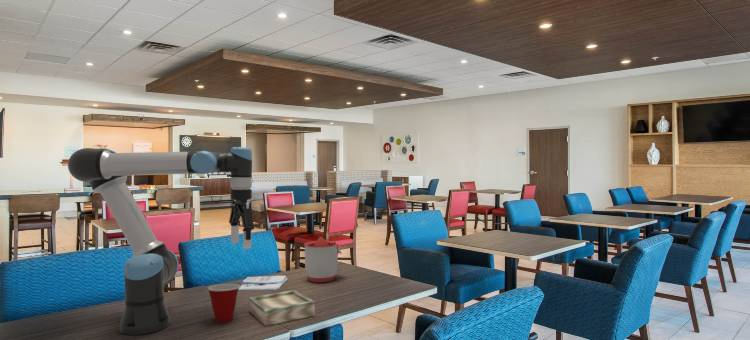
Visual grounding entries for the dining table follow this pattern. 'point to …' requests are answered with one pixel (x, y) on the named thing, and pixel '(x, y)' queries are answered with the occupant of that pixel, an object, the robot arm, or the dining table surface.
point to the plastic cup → (223, 301)
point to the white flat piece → (270, 282)
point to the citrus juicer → (321, 260)
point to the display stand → (281, 307)
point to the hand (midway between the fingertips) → (240, 245)
